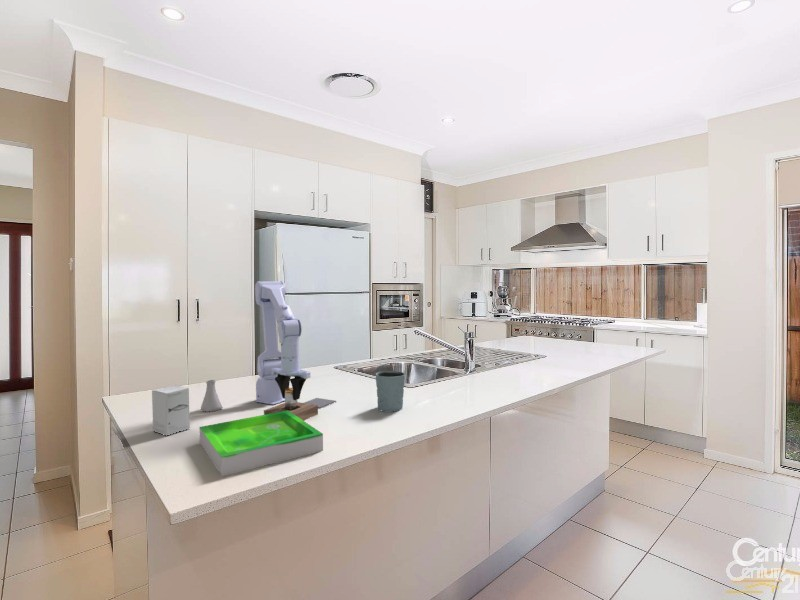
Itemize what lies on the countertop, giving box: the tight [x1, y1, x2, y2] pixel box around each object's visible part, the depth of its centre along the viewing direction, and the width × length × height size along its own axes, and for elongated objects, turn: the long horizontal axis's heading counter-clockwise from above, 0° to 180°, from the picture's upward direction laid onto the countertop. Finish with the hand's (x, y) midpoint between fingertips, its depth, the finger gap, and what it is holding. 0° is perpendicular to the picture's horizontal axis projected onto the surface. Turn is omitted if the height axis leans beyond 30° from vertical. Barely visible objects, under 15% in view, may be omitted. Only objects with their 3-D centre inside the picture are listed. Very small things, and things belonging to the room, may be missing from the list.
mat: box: [303, 397, 337, 409], centre depth 156 cm, size 9×9×1 cm
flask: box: [200, 379, 224, 413], centre depth 150 cm, size 7×7×10 cm
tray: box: [198, 410, 324, 477], centre depth 116 cm, size 25×25×5 cm
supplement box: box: [151, 385, 191, 437], centre depth 128 cm, size 7×7×13 cm
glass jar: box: [284, 387, 299, 411], centre depth 140 cm, size 4×4×7 cm
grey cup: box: [375, 370, 406, 413], centre depth 149 cm, size 10×10×12 cm
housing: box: [263, 401, 319, 421], centre depth 141 cm, size 12×12×3 cm
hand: (291, 398), depth 140 cm, fingers closed on glass jar, 4 cm apart
